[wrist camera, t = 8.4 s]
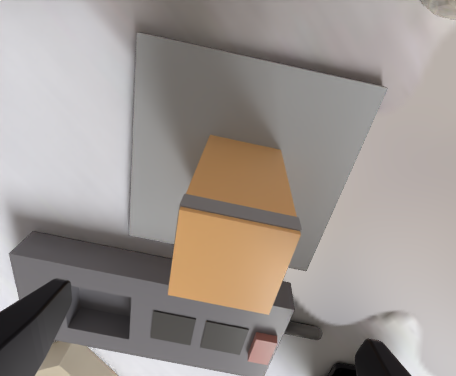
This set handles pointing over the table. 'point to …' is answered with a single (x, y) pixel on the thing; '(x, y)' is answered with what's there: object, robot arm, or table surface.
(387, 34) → the table surface
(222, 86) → the mat
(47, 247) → the power strip
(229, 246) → the orange square peg
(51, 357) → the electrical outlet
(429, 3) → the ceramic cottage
